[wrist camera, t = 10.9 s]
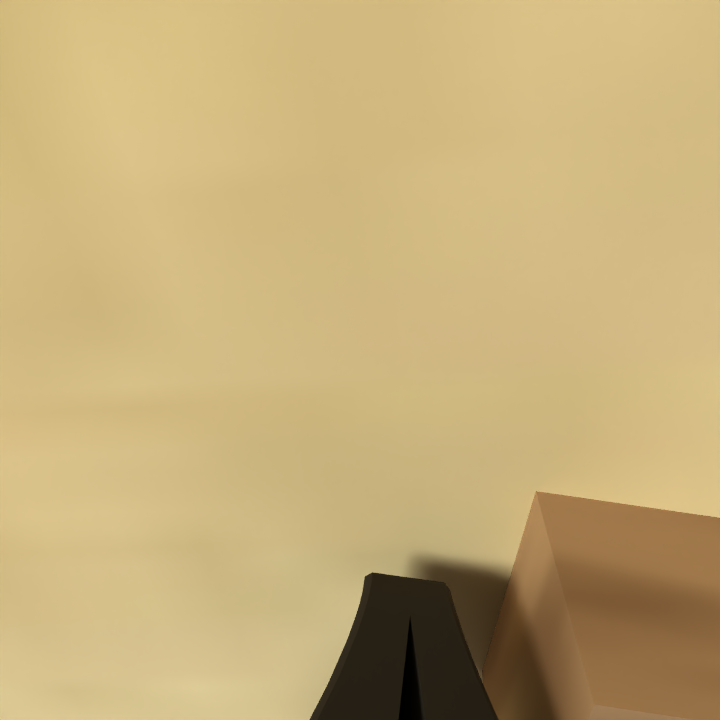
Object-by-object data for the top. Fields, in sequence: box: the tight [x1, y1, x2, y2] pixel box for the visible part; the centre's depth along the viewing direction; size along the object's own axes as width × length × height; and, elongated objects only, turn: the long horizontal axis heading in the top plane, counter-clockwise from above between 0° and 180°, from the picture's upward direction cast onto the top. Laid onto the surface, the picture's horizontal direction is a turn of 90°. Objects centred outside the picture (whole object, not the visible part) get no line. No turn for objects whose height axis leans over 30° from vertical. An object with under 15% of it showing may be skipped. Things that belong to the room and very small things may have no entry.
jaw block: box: [482, 491, 720, 720], centre depth 10 cm, size 4×4×4 cm
